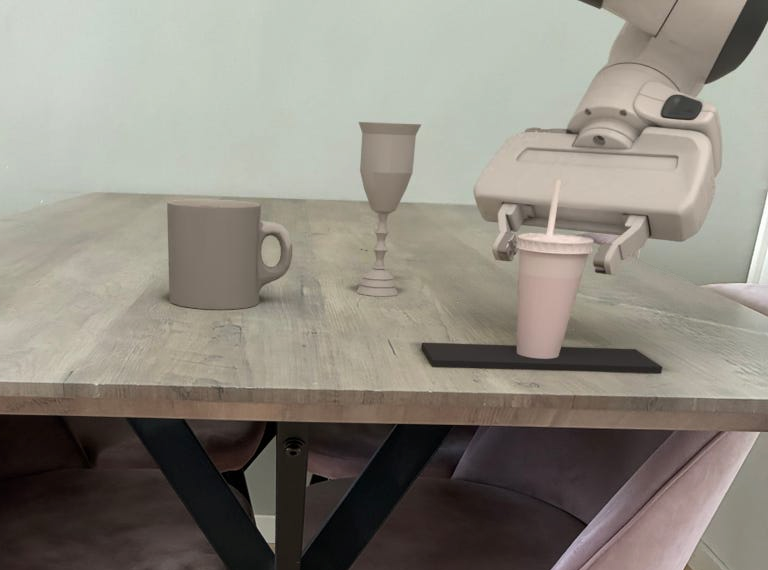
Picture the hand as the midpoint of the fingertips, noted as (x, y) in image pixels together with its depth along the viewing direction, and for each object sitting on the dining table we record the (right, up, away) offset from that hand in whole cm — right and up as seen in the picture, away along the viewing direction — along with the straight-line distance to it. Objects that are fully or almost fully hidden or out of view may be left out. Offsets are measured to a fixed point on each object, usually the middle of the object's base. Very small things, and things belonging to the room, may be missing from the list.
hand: (549, 262), depth 81 cm
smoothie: (0, -7, +4) cm, 8 cm away
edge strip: (0, -7, +5) cm, 8 cm away
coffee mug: (-29, +5, +25) cm, 39 cm away
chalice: (-11, +10, +34) cm, 37 cm away
